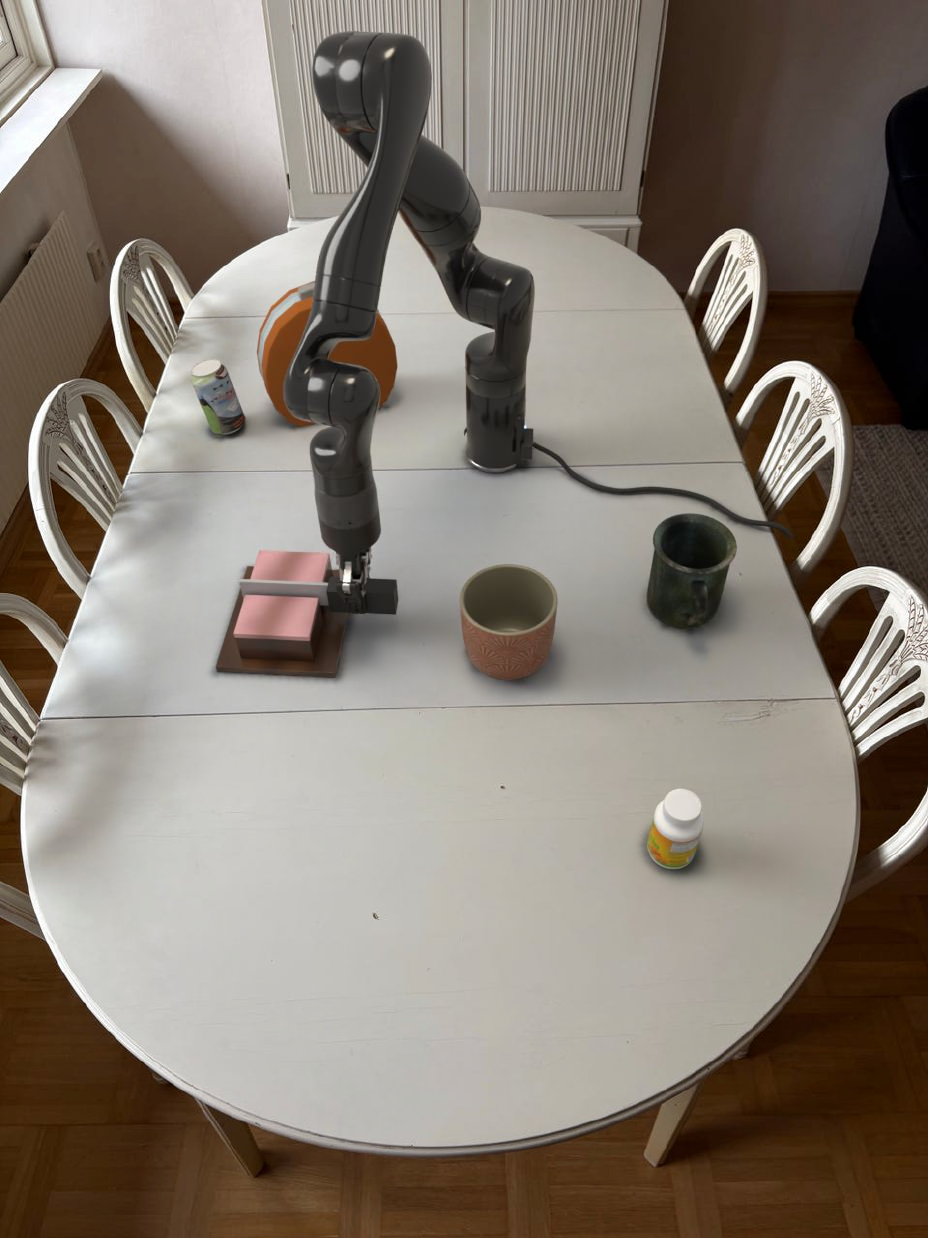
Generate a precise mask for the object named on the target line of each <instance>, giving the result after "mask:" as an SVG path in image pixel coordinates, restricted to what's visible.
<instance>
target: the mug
mask: <svg viewBox="0 0 928 1238" xmlns="http://www.w3.org/2000/svg"><path fill="white" fill-rule="evenodd" d="M652 545H653V548H654V549H653V553H652V554H653V555H652V560H651V567H650V572H649V577H648V578H649V579H648V584H647V589H646V596H645V597H646V598H645V599H646V603H647V606H648V609H649V610H650V612H651V613H652V614H653V615H654V617H656V619H658V620H659V621H660V622H661V623H664V625H665V624H666V625H668V626H670V627H673V628H676V629H683V630H684V629H685V630H686V629H687V630H690V629H697V628H700V627H703V626H704V625H707V624H708V623H710V622H711V621H713V619H714V618H715V617H716V616H717V614H718V612H719V609H720V604H721V601H722V597H723V593H724V589H725V585H726V581H727V577H728V573H729V570H730V566H731V563H733V560H734V559H735V557H736V555H737V551H738V544H737V541H736V537H735V535H734V534H733V532H732V531H731V529H729V527H727V525H725V524H724V523H723V522H721V521H720V520H718V519H716V518H714V517H711V516H709V515H705V514H701V513H693V512H691V513H690V512H689V513H688V512H687V513H679V514H674V515H671V516H669V517H667V518H665V519H664V520H662V521H661V522H660V523H658V525H657V526H656V528H655V530H654V532H653V535H652Z"/></svg>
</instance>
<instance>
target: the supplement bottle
mask: <svg viewBox="0 0 928 1238" xmlns="http://www.w3.org/2000/svg"><path fill="white" fill-rule="evenodd" d="M702 807H703V806H702V802H701V799H700V797H699V796H698V795H697V794H696V793H695V792H693V791H691V790H689V789H685V788H676V789H675V788H674V789H673V790H670V792H668V793H667V794H666V795H665V797H664V799H663V800H661V801H660V802H659V803H658V804H657V806H656V808H655V811H654V814H653V818H652V822H651V826H650V829H649V834H648V838H647V843H646V846H647V847H646V848H647V852H648V854H649V856H650V858H651V860H653V861H654V862H655V863H656V864H657V865H659V866H660V867H662V868H664V869H668V870H680V869H683V868H685V867H687V866H688V865H689V864H690V863H691V862H692V861H693V859H694V857H695V855H696V852H697V848H698V845H699V842H700V838H701V836H702V832H703V830H704V823H705V817H704V813H703V812H702Z"/></svg>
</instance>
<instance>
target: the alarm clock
mask: <svg viewBox="0 0 928 1238" xmlns="http://www.w3.org/2000/svg"><path fill="white" fill-rule="evenodd" d="M314 284H315V280H312V281H310V282H307V283H304V284H302V285H299V286H296V287H294V288H291V289H289V290H288V291H287V292H286V293H285V294H283V295H282V296H281V297H280V298H279V299H278V300H277V301H276V302H274V303H273V304H272V305H271V306H270V308H269V310H268V311H267V314H266V316H265V318H264V320H263V322H262V324H261V326H260V328H259V333H258V341H257V347H256V356H257V357H256V358H257V363H258V370H259V373H260V377H261V379H262V380H263V385H264V388H265V391H266V393H267V395H268V397H269V399H270V401H271V403H272V405H273V407H274V408H275V411H277V412H278V413H279V414H280V415H281V416H282V417H283V418H284V419H285V420H286V421H287V422H289V423H290V424H293V425H294V426H297V427H306V426H312V425H315V424H317V423H313V422H308V421H303V420H300V419H297V418H295V417H294V416H293V415H291V413H290V412H289V411H288V409H287V407H286V405H285V401H284V397H283V384H284V379H285V375H286V373H287V370H288V367H289V365H290V363H291V361H292V358H293V356H294V354H295V352H296V349H297V347H298V345H299V342H300V340H301V337H302V334H303V332H304V329H305V326H306V324H307V321H308V318H309V315H310V312H311V306H312V301H314V300H313V299H312V298H313V291H314ZM375 313H376V314H377V316H376V322H375V327H374V331H373V334H372V335H371V337H370V338H369V339H367V340H363V341H348V342H341V343H339V344H337V345H336V347H335V348H334V349H333V351H332V352H331V354H330V356H329V358H328V360H332V361H337V362H343V363H347V364H353V365H358V366H362V367H365V368H367V369H368V370H370V371H371V372H372V373H373V375H374V376H375V378H376V379H377V381H378V384H379V387H380V402H379V406H378V410H380V409H381V408H382V406H383V405H384V404H385V403H386V402H387V401H388V399H389V397H390V395H391V393H392V391H393V390H394V387H395V381H396V377H397V372H398V357H397V349H396V345H395V342H394V340H393V338H392V335H391V333H390V331H389V328H388V326H387V324H386V322H385V320H384V318H383V317H382V315H381V313H380V310H379V308H378V309H377V312H375Z"/></svg>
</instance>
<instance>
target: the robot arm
mask: <svg viewBox="0 0 928 1238" xmlns="http://www.w3.org/2000/svg"><path fill="white" fill-rule="evenodd" d="M432 75H433V74H432V67H431V61H430V57H429V55H428V51H427V50H426V48H425V46H424V45H423V43H422V41H420V40H419V38H417V37H415V36H414V35H411V34H406V33H396V32H380V31H379V32H378V31H364V30H363V31H359V30H343V31H338V32H335V33H331V34H330V35H329V34H328V35H327V36H326V37H324V38H323V39H322V41H320V43H319V44H318V45H317V46H316V49H315V50H314V54H313V58H312V64H311V76H312V86H313V90H314V95H315V97H316V100H317V103H318V106H319V108H320V110H321V111H322V114H323V115H324V118H325V119H326V121H327V122H328V123H329V125H330V126H331V127H332V128H333V130H334V131H335V132H336V133H337V135H338V136H339V137H340V138H341V139H342V140H343V142H345V144H347V146H348V147H349V148H350V149H351V150H352V151H353V153H354V154H355V155H356V156H357V157H358V158H359V160H360V161H361V162H362V163H363V164H364V166H365V167H366V168H367V170H366V171H365V174H364V176H363V178H362V180H361V181H360V184H359V185H358V187H357V189H356V191H355V192H354V193H353V195H352V196H351V198H350V200H349V201H348V203H347V204H346V205H345V207H344V209H343V210H342V211H341V213H340V214H339V215H338V217H337V218H336V220H335V221H334V223H333V225H332V226H331V227H330V229H329V231H328V233H327V235H326V236H325V239H324V240H323V243H322V245H321V248H320V250H319V251H320V252H319V255H318V260H317V264H316V270H315V278H314V281H315V284H314V291H313V298H312V299H313V300H314V301H312V306H311V312H310V315H309V318H308V321H307V324H306V326H305V329H304V332H303V334H302V337H301V340H300V342H299V345H298V347H297V349H296V352H295V354H294V356H293V358H292V361H291V363H290V365H289V367H288V370H287V373H286V375H285V379H284V384H283V397H284V401H285V405H286V407H287V409H288V411H289V412H290V413H291V415H293V416H294V417H295V418H297V419H300V420H303V421H308V422H313V423H316V424H319V425H322V426H323V425H324V426H328V427H325V428H323V429H321V430H319V431H317V433H315V434H314V436H313V437H312V438H311V441H310V443H309V457H310V464H311V469H312V475H313V476H312V477H313V482H314V501H315V506H316V512H317V518H318V519H317V520H318V524H319V529H320V530H319V531H320V536H321V539H322V541H323V543H324V544H325V545H326V547H327V548H329V549H330V550H332V551H333V552H335V561H336V565H337V566H338V570H339V573H340V581H337V584H336V589H337V592H338V594H339V596H340V598H341V599H342V601H343V603H349V606H350V612H351V613H350V614H352V615H366V613H367V603H366V595H365V594H366V591H365V584H366V582H367V578H370V573H371V570H372V568H371V563H372V559H373V554H372V547H373V546H374V545H375V544H376V543H377V542H378V540H379V539H380V538H381V537H380V536H381V533H382V526H381V525H382V523H381V515H380V508H379V507H380V506H379V497H378V489H377V484H376V480H375V478H374V469H373V462H372V461H373V460H372V452H371V450H372V449H371V448H372V439H373V431H374V427H375V421H376V417H377V413H378V410H379V409H378V406H379V402H380V387H379V384H378V381H377V379H376V378H375V376H374V375H373V373H372V372H371V371H370V370H368V369H367V368H365V367H362V366H358V365H353V364H347V363H343V362H337V361H332V360H328V358H329V356H330V354H331V352H332V351H333V349H334V348H335V347H336V345H337V344H339V343H341V342H348V341H363V340H367V339H369V338H370V337H371V335H372V334H373V331H374V327H375V322H376V316H377V314H376V313H375V312H377V309H378V310H379V301H380V295H381V289H382V283H383V276H384V271H385V265H386V258H387V254H388V250H389V245H390V240H391V237H392V234H393V229H394V225H395V224H396V223H395V222H396V219H397V216H398V215H399V217H400V218H401V220H402V221H403V223H404V224H405V226H406V228H407V229H408V231H409V232H410V234H411V236H412V237H413V238H414V240H415V241H416V242H417V243H418V245H419V246H420V247H421V250H422V251H423V252H424V254H425V256H426V257H427V259H428V261H429V263H430V264H431V266H432V267H433V268H434V271H435V272H436V275H437V276H438V278H439V280H440V282H441V286H442V287H443V289H444V291H445V294H446V296H447V298H448V300H449V302H450V304H451V306H452V308H453V309H454V311H455V312H456V313H457V315H459V316H460V317H461V318H462V319H464V320H466V321H468V322H470V323H473V324H475V325H479V326H482V327H484V328H488V329H490V330H493V331H491V332H490V331H489V332H487V333H483V334H480V335H478V336H475V337H474V338H473V339H471V341H469V343H468V344H467V345H466V347H465V351H464V370H465V372H464V373H465V377H464V378H465V412H466V413H465V418H466V419H465V420H466V421H465V423H466V426H465V428H464V430H463V435H464V437H465V436H466V450H465V451H466V459H467V461H468V462H469V464H470V465H471V466H472V467H474V468H475V469H477V470H478V471H481V472H486V473H490V474H491V473H492V474H499V473H506V472H509V471H511V470H512V471H513V470H515V469H516V468H524V460H525V461H527V460H529V461H531V460H532V461H533V451H534V450H533V449H535V450H537V451H540V452H541V453H543V454H546V455H547V456H549V457H551V458H552V459H554V460H555V461H557V463H558V464H559V465H560V466H561V467H562V468H563V470H564V471H565V472H566V473H567V474H568V475H570V476H571V477H572V478H574V479H575V480H576V481H578V482H580V483H582V484H584V485H585V486H587V487H590V488H592V489H594V490H598V491H601V492H605V493H610V494H611V493H612V494H619V495H622V494H623V495H625V494H637V493H638V494H639V493H665V494H673V495H680V496H686V497H690V498H693V499H696V500H699V501H702V502H705V503H707V504H709V505H711V506H713V507H714V508H716V509H718V510H719V511H720V512H721V513H723V514H724V515H726V516H727V517H729V518H731V519H733V520H734V521H737V522H739V523H741V524H744V525H750V526H754V527H755V526H756V527H765V528H771V529H775V530H778V531H779V532H781V533H783V535H784V536H785V537H787V538H789V539H792V538H794V535H793V533H792V532H791V530H790V529H788V528H787V527H786V526H784V525H782V524H780V523H778V522H775V521H770V520H769V521H768V520H758V519H751V518H746V517H744V516H741V515H739V514H737V513H734V512H733V511H731V510H730V509H729V508H727V507H726V506H724V505H723V504H721V503H719V502H718V501H716V500H714V499H713V498H711V497H708V496H706V495H704V494H701V493H697V492H695V491H690V490H686V489H680V488H674V487H665V486H664V487H663V486H639V487H638V486H637V487H627V488H625V487H623V488H622V487H621V488H620V487H611V486H606V485H602V484H599V483H596V482H593V481H591V480H589V479H587V478H585V477H583V476H581V475H580V474H578V473H577V472H576V471H574V470H573V469H572V468H571V467H570V466H569V465H568V464H567V462H566V461H565V460H564V459H563V457H561V456H560V455H559V454H557V453H556V452H554V451H553V450H551V449H549V448H547V447H545V446H543V445H541V444H539V443H537V442H536V441H534V428H530V427H529V428H527V425H526V412H527V411H526V410H527V409H526V407H527V399H526V398H527V395H526V394H527V365H528V354H529V351H530V346H531V341H532V332H533V331H532V328H533V317H534V309H535V298H536V297H535V296H536V295H535V294H536V286H535V280H534V276H533V274H532V272H531V271H530V270H529V268H526V267H524V266H521V265H518V264H514V263H512V262H509V261H505V260H502V259H498V258H495V257H492V256H489V255H487V254H485V253H483V252H481V251H480V250H479V248H478V247H477V246H476V244H475V243H474V242H475V240H476V238H477V235H478V233H479V231H480V227H481V223H482V222H481V221H482V208H481V205H480V200H479V199H478V196H477V194H476V192H475V190H474V187H473V186H472V184H471V181H470V180H469V178H468V176H467V174H466V173H465V171H464V169H463V168H462V167H461V165H460V164H459V162H458V161H456V159H455V158H454V157H453V156H452V155H451V154H449V153H448V152H447V151H445V150H444V149H443V148H442V147H440V146H439V144H436V143H435V142H434V141H432V140H431V139H430V138H428V137H427V136H425V135H424V134H423V132H424V128H425V125H426V120H427V116H428V111H429V106H430V101H431V96H432V84H433V83H432V81H433V80H432V79H433V78H432ZM358 584H359V586H360V588H359V586H358Z"/></svg>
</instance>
